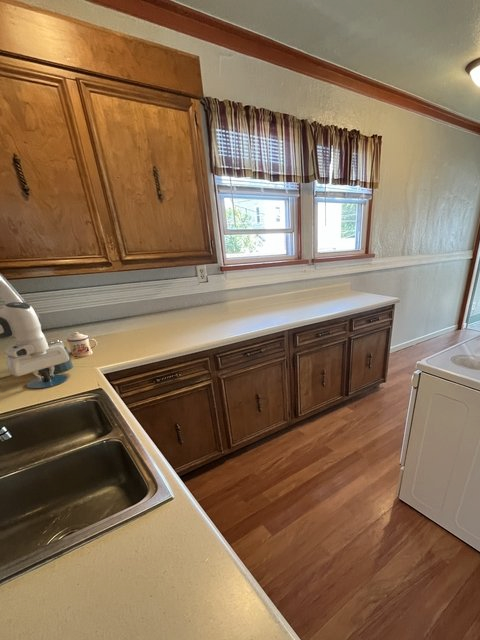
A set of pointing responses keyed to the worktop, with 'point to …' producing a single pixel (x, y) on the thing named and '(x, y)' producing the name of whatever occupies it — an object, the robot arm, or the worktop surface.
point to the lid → (46, 381)
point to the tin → (61, 366)
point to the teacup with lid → (80, 345)
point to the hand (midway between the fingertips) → (46, 378)
